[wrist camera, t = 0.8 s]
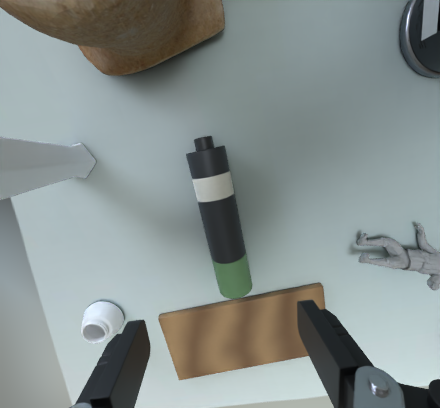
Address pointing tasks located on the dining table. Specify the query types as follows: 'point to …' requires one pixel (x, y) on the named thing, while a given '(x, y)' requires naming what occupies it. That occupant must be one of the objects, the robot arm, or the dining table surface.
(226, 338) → the wooden board
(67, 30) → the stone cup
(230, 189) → the marker
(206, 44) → the dining table surface
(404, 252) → the soldier figure
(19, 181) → the perfume bottle
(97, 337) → the white jar
